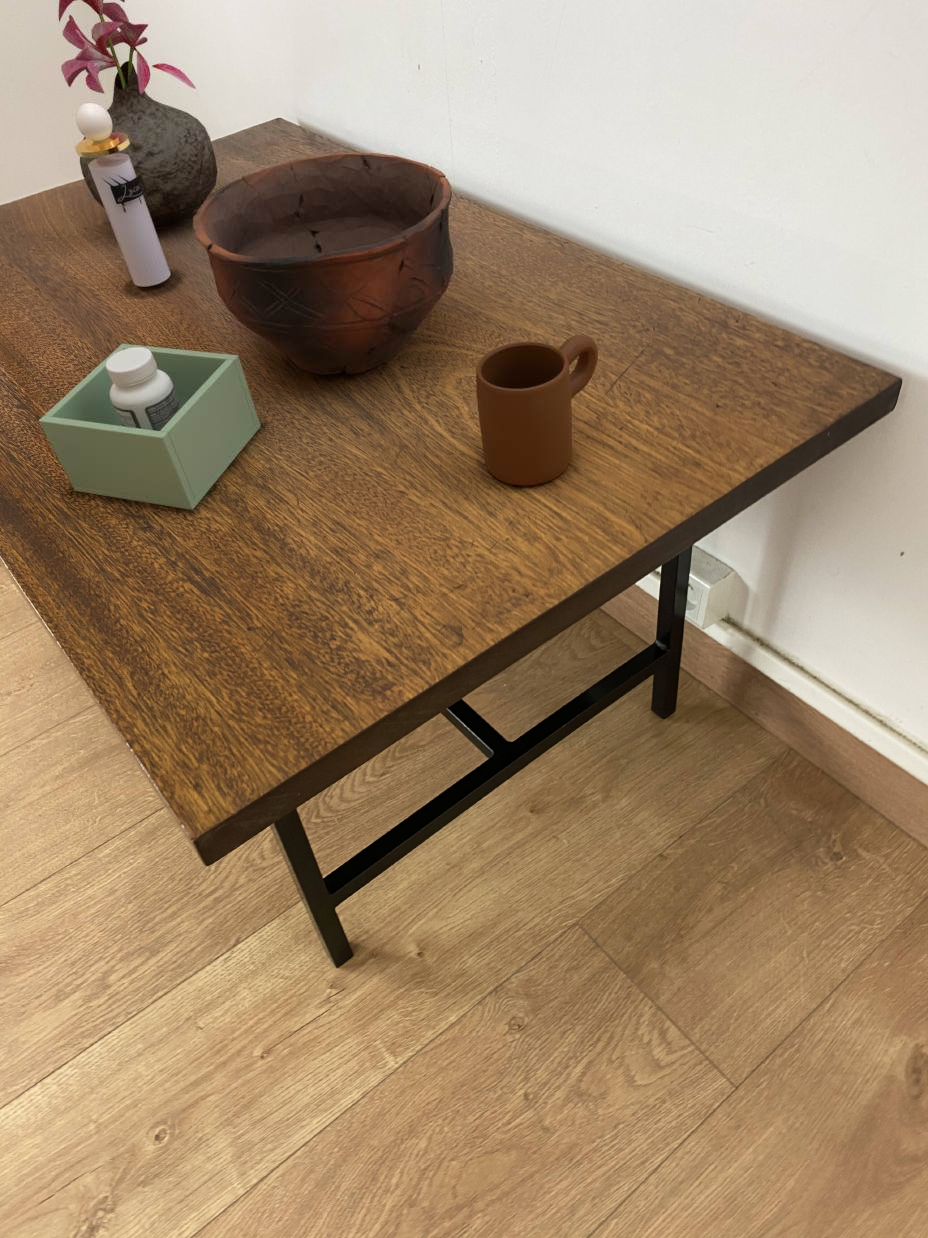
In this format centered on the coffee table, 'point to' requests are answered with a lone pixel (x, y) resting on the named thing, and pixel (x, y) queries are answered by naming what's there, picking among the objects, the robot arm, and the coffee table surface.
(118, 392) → the pill bottle
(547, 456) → the mug
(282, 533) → the coffee table surface
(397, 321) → the bowl
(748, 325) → the coffee table surface
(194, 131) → the vase
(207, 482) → the bin
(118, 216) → the perfume bottle
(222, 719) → the coffee table surface
